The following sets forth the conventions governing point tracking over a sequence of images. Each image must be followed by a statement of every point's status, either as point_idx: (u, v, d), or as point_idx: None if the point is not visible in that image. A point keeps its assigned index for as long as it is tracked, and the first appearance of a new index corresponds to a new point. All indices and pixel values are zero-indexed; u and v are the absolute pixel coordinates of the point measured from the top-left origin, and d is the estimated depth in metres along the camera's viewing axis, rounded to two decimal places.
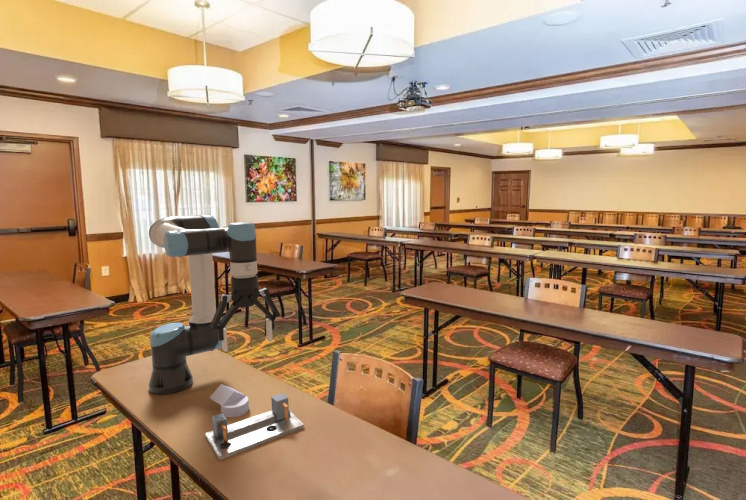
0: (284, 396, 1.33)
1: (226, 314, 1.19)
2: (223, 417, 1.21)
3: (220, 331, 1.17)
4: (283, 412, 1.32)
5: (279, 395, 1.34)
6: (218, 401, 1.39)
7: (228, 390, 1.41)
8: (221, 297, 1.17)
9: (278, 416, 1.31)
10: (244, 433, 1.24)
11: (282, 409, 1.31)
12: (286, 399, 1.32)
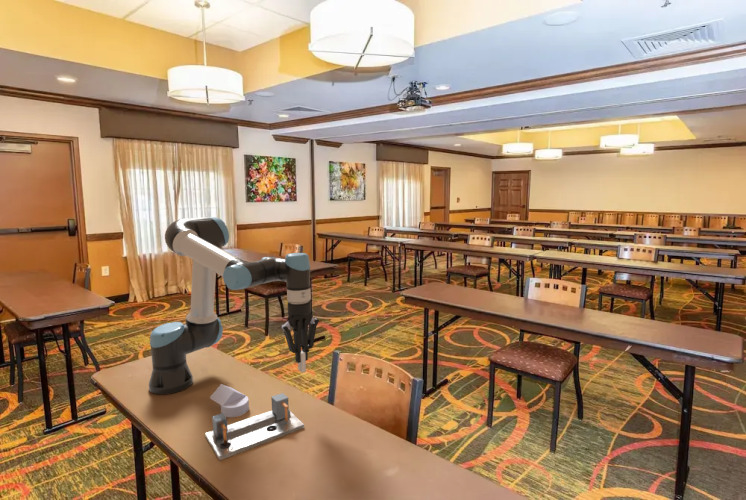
0: (284, 396, 1.33)
1: (295, 339, 1.34)
2: (223, 417, 1.21)
3: (298, 354, 1.34)
4: (283, 412, 1.32)
5: (279, 395, 1.34)
6: (218, 401, 1.39)
7: (228, 390, 1.41)
8: (282, 329, 1.30)
9: (278, 416, 1.31)
10: (244, 433, 1.24)
11: (282, 409, 1.31)
12: (286, 399, 1.32)
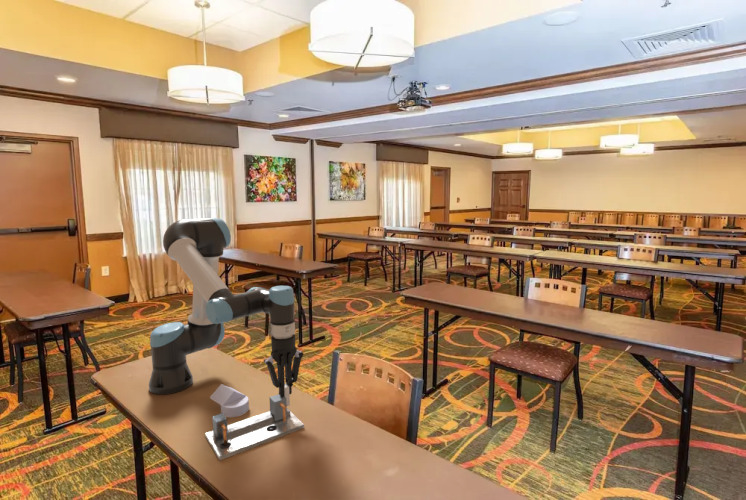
0: (282, 397, 1.33)
1: (279, 373, 1.32)
2: (223, 417, 1.21)
3: (281, 388, 1.32)
4: (281, 413, 1.31)
5: (277, 396, 1.33)
6: (218, 401, 1.39)
7: (228, 390, 1.41)
8: (266, 364, 1.28)
9: (276, 417, 1.30)
10: (244, 433, 1.24)
11: (280, 410, 1.31)
12: (284, 400, 1.31)
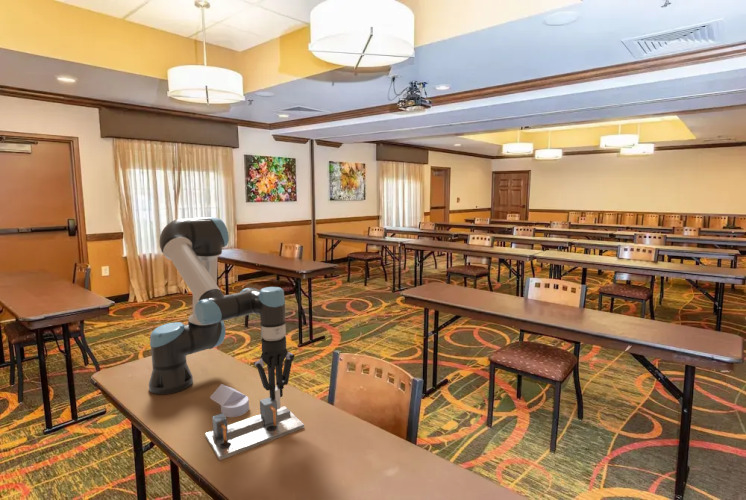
0: (273, 400, 1.31)
1: (269, 376, 1.30)
2: (223, 417, 1.21)
3: (272, 391, 1.30)
4: (272, 416, 1.29)
5: (268, 399, 1.31)
6: (218, 401, 1.39)
7: (228, 390, 1.41)
8: (256, 366, 1.26)
9: (266, 420, 1.29)
10: (244, 433, 1.24)
11: (270, 413, 1.29)
12: (275, 403, 1.30)
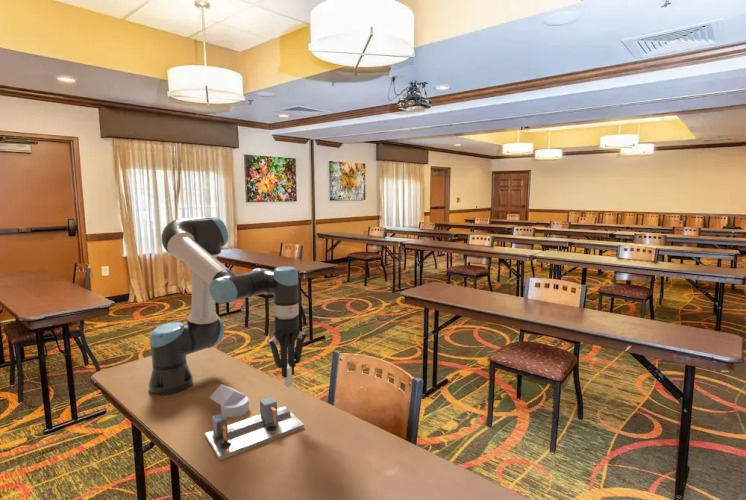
0: (273, 400, 1.31)
1: (281, 354, 1.32)
2: (223, 417, 1.21)
3: (284, 369, 1.32)
4: (272, 416, 1.29)
5: (268, 399, 1.31)
6: (218, 401, 1.39)
7: (228, 390, 1.41)
8: (269, 344, 1.28)
9: (266, 420, 1.28)
10: (244, 433, 1.24)
11: (270, 413, 1.29)
12: (275, 403, 1.29)
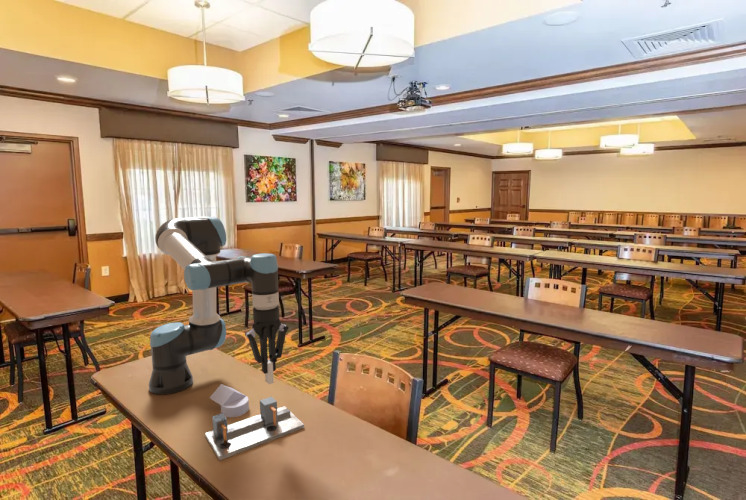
0: (273, 400, 1.31)
1: (261, 348, 1.22)
2: (223, 417, 1.21)
3: (264, 364, 1.22)
4: (272, 416, 1.29)
5: (268, 399, 1.31)
6: (218, 401, 1.39)
7: (228, 390, 1.41)
8: (247, 337, 1.19)
9: (266, 420, 1.28)
10: (244, 433, 1.24)
11: (270, 413, 1.29)
12: (275, 403, 1.29)
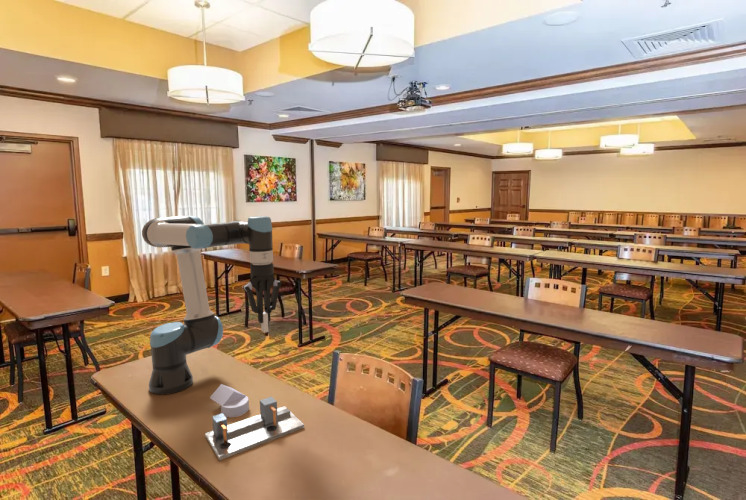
0: (273, 400, 1.31)
1: (257, 300, 1.38)
2: (223, 417, 1.21)
3: (260, 315, 1.38)
4: (272, 416, 1.29)
5: (268, 399, 1.31)
6: (218, 401, 1.39)
7: (228, 390, 1.41)
8: (245, 289, 1.35)
9: (266, 420, 1.28)
10: (244, 433, 1.24)
11: (270, 413, 1.29)
12: (275, 403, 1.29)
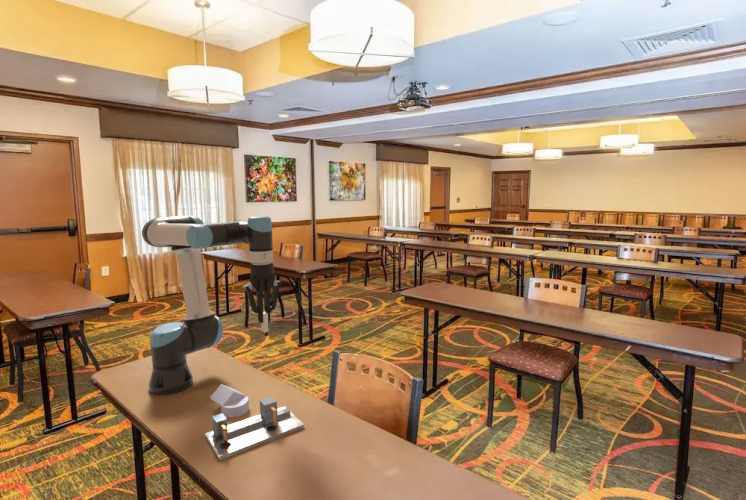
0: (273, 400, 1.31)
1: (257, 300, 1.38)
2: (223, 417, 1.21)
3: (260, 315, 1.38)
4: (272, 416, 1.29)
5: (268, 399, 1.31)
6: (218, 401, 1.39)
7: (228, 390, 1.41)
8: (245, 289, 1.35)
9: (266, 420, 1.28)
10: (244, 433, 1.24)
11: (270, 413, 1.29)
12: (275, 403, 1.29)
